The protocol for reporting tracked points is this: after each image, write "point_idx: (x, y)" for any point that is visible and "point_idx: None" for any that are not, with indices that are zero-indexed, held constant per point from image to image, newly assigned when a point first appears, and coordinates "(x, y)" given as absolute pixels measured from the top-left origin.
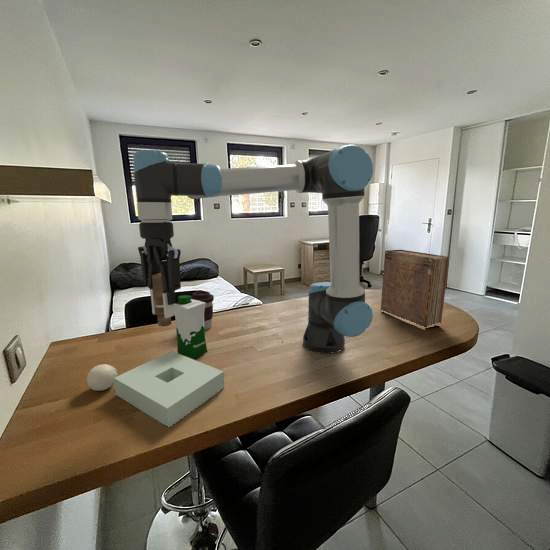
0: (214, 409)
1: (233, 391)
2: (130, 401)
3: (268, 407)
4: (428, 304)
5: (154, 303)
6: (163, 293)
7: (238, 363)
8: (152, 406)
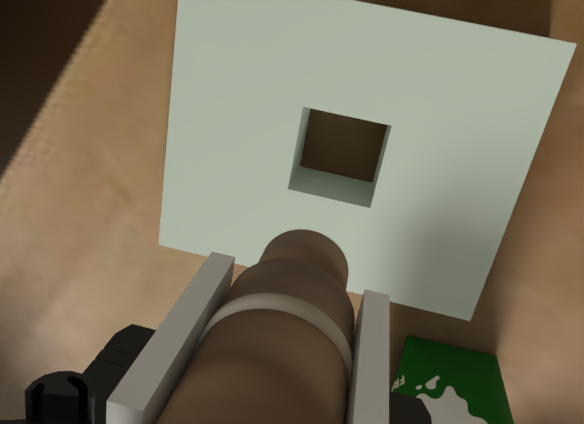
0: (141, 109)
1: (146, 210)
2: (440, 16)
3: (12, 175)
4: None
5: (318, 331)
6: (128, 396)
7: None
8: None
